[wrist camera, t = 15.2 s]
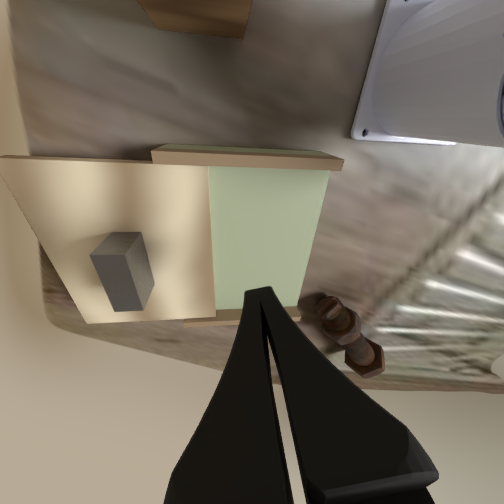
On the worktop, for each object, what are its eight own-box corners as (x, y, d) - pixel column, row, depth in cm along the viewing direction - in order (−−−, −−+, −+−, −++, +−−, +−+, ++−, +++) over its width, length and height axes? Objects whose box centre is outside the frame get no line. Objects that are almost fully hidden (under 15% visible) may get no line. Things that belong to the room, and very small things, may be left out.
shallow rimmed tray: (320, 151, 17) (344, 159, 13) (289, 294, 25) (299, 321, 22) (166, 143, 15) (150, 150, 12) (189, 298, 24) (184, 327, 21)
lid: (208, 163, 14) (203, 177, 11) (216, 309, 22) (214, 344, 18) (6, 155, 12) (-73, 168, 9) (92, 315, 20) (66, 353, 17)
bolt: (320, 281, 28) (357, 335, 35) (297, 311, 26) (340, 360, 34) (361, 298, 23) (394, 357, 30) (334, 335, 22) (375, 387, 29)
